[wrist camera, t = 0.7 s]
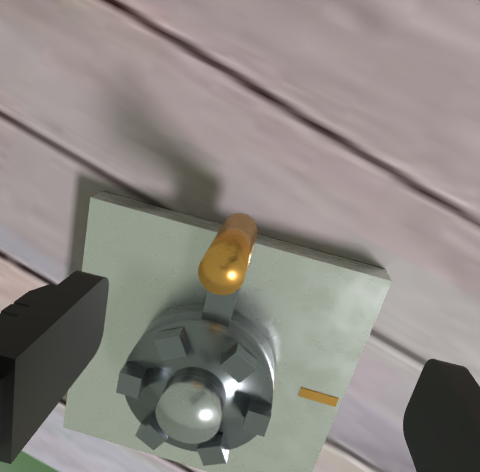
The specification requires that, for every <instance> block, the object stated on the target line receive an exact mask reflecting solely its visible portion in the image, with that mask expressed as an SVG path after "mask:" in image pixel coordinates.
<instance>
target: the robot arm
mask: <svg viewBox="0 0 480 472" xmlns="http://www.w3.org/2000/svg"><path fill="white" fill-rule="evenodd" d="M108 291H109V280H108V278H106V277H103V276H99V275H94V274H90V273H86V272H82V271H75V272H74V273H72V274H71V275H70V276H69V277H67V278H66V279H65V280H63V281H62V282H61V283H59V284H58V285H57V286H56V285H52V284H49V285H46V286H43V287H40V288H37V289H34V290H31V291H29V292H27V293H26V294H25V295H23V296H22V297H20V298H19V299H18V300H16V301H15V302H14V304H11V305H9V306H8V307H6V308H5V309H3V310H2V311H1V314H0V461H2V462H5V463H9V464H11V463H12V462H13V460H14V459H15V458H16V457H17V455H18V454H19V453H20V451H21V450H22V449H23V448H24V446H25V445H26V444H27V442H28V441H29V440H30V439H31V437H32V436H33V435H34V433H35V432H36V431H37V430H38V428H39V427H40V426H41V424H42V423H43V422H44V421H45V419H46V418H47V417H48V415H49V414H50V413H51V412H52V410H53V409H54V408H55V406H56V405H57V404H58V403H59V401H60V400H61V399H62V397H63V396H64V395H65V394H66V392H67V391H68V390H69V388H70V387H71V386H72V385H73V383H74V382H75V381H76V379H77V378H78V377H79V376H80V374H81V373H82V372H83V370H84V369H85V368H86V367H87V365H88V364H89V363H90V361H91V360H92V359H93V357H94V356H95V354H96V353H97V351H98V348H99V346H100V343H101V340H102V337H103V332H104V324H105V316H106V308H107V299H108ZM403 431H404V437H405V440H406V443H407V445H408V448H409V451H410V454H411V457H412V460H413V462H414V465H415V468H416V471H417V472H480V387H479V385H478V384H477V382H476V381H475V379H474V378H473V376H472V375H471V374H470V372H469V371H468V369H467V368H465V367H463V366H460V365H456V364H452V363H448V362H444V361H440V360H436V359H430V360H428V361H427V362H426V364H425V366H424V368H423V370H422V372H421V375H420V377H419V379H418V382H417V384H416V386H415V389H414V391H413V394H412V396H411V398H410V401H409V403H408V405H407V408H406V411H405V414H404V420H403Z"/></svg>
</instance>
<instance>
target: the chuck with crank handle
mask: <svg viewBox="0 0 480 472" xmlns="http://www.w3.org/2000/svg"><path fill="white" fill-rule="evenodd" d="M257 232H258V231H257V226H256V223H255V222H254V220H253V219H252V218H250V217H249V216H247V215H245V214H233V215H231V216H229V217H228V218H227V219H226V220H225V221H224V223H223V224H222V226H221V228H220V230H219V231H218V233H217V235H216V236H215V238H214V240H213V241H212V243H211V245H210V247H209V248H208V250H207V252H206V253H205V255H204V257H203V259H202V260H201V262H200V264H199V267H198V277H199V280H200V282H201V284H202V285H203V286H204V287H205V288H206V289H207V290H208V292H207V297H206V301H205V303H192V304H184V305H180V306H177V307H174V308H171V309H169V310H167V311H165V312H163V313H162V314H160V315H159V316H158V317H156V318H155V319H154V320H153V321H152V322H151V323H150V324H149V325H148V327H147V328H146V330H145V332H144V333H143V335H142V336H141V338H140V339H139V341H138V342H137V344H136V345H135V347H134V348H133V350H132V352H131V353H130V355H129V356H128V358H127V361H126V363H125V364H124V366H123V368H122V369H121V371H120V372H119V378H118V384H117V390H116V393H119V394H122V395H125V398H126V400H127V403H128V405H129V407H130V409H131V411H132V412H133V414H134V415H135V417H136V418H137V419H138V421H139V422H140V423H141V424H140V426H139V428H138V430H137V432H136V434H135V436H136V437H138V438H139V439H140V440H141V441H142V442H144V443H145V444H146V445H147V446H148V447H150V448H151V449H152V450H155V449H156V448H157V447H159V446H160V445H161V444H162V443H164V442H166V443H168V444H171V445H173V446H175V447H178V448H181V449H185V450H189V451H194V452H198V453H199V456H200V459H201V461H202V464H203V466H207V465H216V464H225V463H227V459H228V454H229V450H231V449H234V448H237V447H239V446H242V445H244V444H245V443H247V442H249V441H250V440H252V439H253V438H254V437H255V436H256V435H259V436H262V437H264V436H265V433H266V430H267V427H268V424H269V422H270V419H271V411H272V402H273V390H274V378H275V361H274V357H273V353H272V351H271V348H270V346H269V344H268V342H267V340H266V338H265V337H264V336H263V334H262V333H261V332H260V331H259V330H258V329H257V327H256V326H255V325H254V324H252V323H251V322H250V321H249V320H247V319H246V318H245V317H243V316H241V315H240V314H238V313H236V312H234V311H233V310H234V306H235V303H236V299H237V295H238V292H239V288H240V287H241V285H242V284H243V281H244V278H245V275H246V271H247V268H248V264H249V261H250V258H251V254H252V251H253V247H254V244H255V241H256V237H257Z"/></svg>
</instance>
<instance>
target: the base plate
mask: <svg viewBox="0 0 480 472" xmlns="http://www.w3.org/2000/svg"><path fill="white" fill-rule="evenodd" d="M221 226H222V224H220V223H216V222H212V221H209V220H205V219H202V218H198V217H194V216H191V215H187V214H184V213H180V212H176V211H173V210H169V209H166V208H162V207H158V206H155V205H151V204H147V203H144V202H140V201H137V200H133V199H129V198H126V197H122V196H119V195H115V194H111V193H108V192H104V191H102V192H100V193H98V194H96V195H94V196H92V197H90V205H89V213H88V222H87V230H86V239H85V247H84V256H83V264H82V272H86V273H90V274H94V275H99V276H103V277H106V278H108V280H109V291H108V299H107V308H106V316H105V324H104V332H103V337H102V340H101V343H100V346H99V348H98V351H97V353H96V354H95V356H94V357H93V359H92V360H91V361H90V363H89V364H88V365H87V367H86V368H85V369H84V370H83V372H82V373H81V374H80V376H79V377H78V378H77V379H76V381H75V382H74V383H73V385H72V386H71V387H70V388H69V390H68V393H67V401H66V410H65V418H64V428H68V429H71V430H74V431H77V432H81V433H84V434H87V435H91V436H94V437H97V438H100V439H104V440H107V441H110V442H113V443H117V444H120V445H123V446H127V447H130V448H133V449H136V450H140V451H143V452H146V453H149V454H153V455H156V456H159V457H163V458H166V459H169V460H172V461H176V462H179V463H182V464H185V465H189V466H192V467H195V468H199V469H202V470H205V471H208V472H312V471H313V468H314V466H315V463H316V461H317V459H318V456H319V454H320V452H321V449H322V447H323V444H324V442H325V440H326V437H327V435H328V432H329V430H330V428H331V425H332V423H333V420H334V418H335V416H336V413H337V411H338V409H339V406H340V404H341V401H342V399H343V397H344V394H345V392H346V389H347V387H348V385H349V382H350V380H351V377H352V375H353V373H354V370H355V368H356V366H357V363H358V361H359V358H360V356H361V354H362V351H363V349H364V346H365V344H366V342H367V339H368V337H369V334H370V332H371V330H372V327H373V325H374V323H375V320H376V318H377V315H378V313H379V311H380V308H381V306H382V303H383V301H384V299H385V296H386V294H387V291H388V289H389V287H390V284H391V282H392V281H391V279H390V277H389V275H388V273H387V271H386V269H382V268H378V267H375V266H371V265H368V264H364V263H360V262H357V261H353V260H350V259H346V258H342V257H339V256H335V255H332V254H328V253H324V252H321V251H317V250H313V249H310V248H306V247H303V246H299V245H295V244H292V243H288V242H285V241H281V240H277V239H274V238H270V237H267V236H263V235H259V234H257V237H256V241H255V244H254V247H253V251H252V254H251V258H250V261H249V264H248V268H247V271H246V275H245V278H244V281H243V284H242V285H241V287H240V288H239V292H238V295H237V299H236V303H235V306H234V310H233V311H234V312H236V313H238V314H240V315H241V316H243V317H245V318H246V319H247V320H249V321H250V322H251V323H252V324H254V325H255V326H256V327H257V329H258V330H259V331H260V332H261V333H262V334H263V336H264V337H265V338H266V340H267V342H268V344H269V346H270V348H271V351H272V353H273V357H274V361H275V378H274V390H273V402H272V411H271V419H270V422H269V424H268V427H267V430H266V433H265V436H264V437H262V436H259V435H256V436H255V437H254V438H253V439H252V440H250V441H249V442H247V443H245V444H244V445H242V446H239V447H237V448H234V449H231V450H229V454H228V459H227V463H225V464H216V465H207V466H203V464H202V461H201V459H200V456H199V453H198V452H194V451H189V450H185V449H181V448H178V447H175V446H173V445H171V444H168V443H166V442H164V443H162V444H161V445H160V446H159V447H157V448H156V449H155V450H152V449H151V448H150V447H148V446H147V445H146V444H145V443H144V442H142V441H141V440H140V439H139V438H138V437H136V436H135V434H136V432H137V430H138V428H139V426H140V424H141V423H140V422H139V421H138V419H137V418H136V417H135V415H134V414H133V412H132V411H131V409H130V407H129V405H128V403H127V400H126V398H125V395H122V394H119V393H116V390H117V384H118V378H119V372H120V371H121V369H122V368H123V366H124V364H125V363H126V361H127V358H128V356H129V355H130V353H131V352H132V350H133V348H134V347H135V345H136V344H137V342H138V341H139V339H140V338H141V336H142V335H143V333H144V332H145V330H146V328H147V327H148V325H149V324H150V323H151V322H152V321H153V320H154V319H155V318H156V317H158V316H159V315H160V314H162V313H163V312H165V311H167V310H169V309H171V308H174V307H177V306H180V305H184V304H192V303H205V301H206V297H207V292H208V290H207V289H206V288H205V287H204V286H203V285H202V284H201V282H200V280H199V277H198V267H199V264H200V262H201V260H202V259H203V257H204V255H205V253H206V252H207V250H208V248H209V247H210V245H211V243H212V241H213V240H214V238H215V236H216V235H217V233H218V231H219V230H220V228H221Z"/></svg>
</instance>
